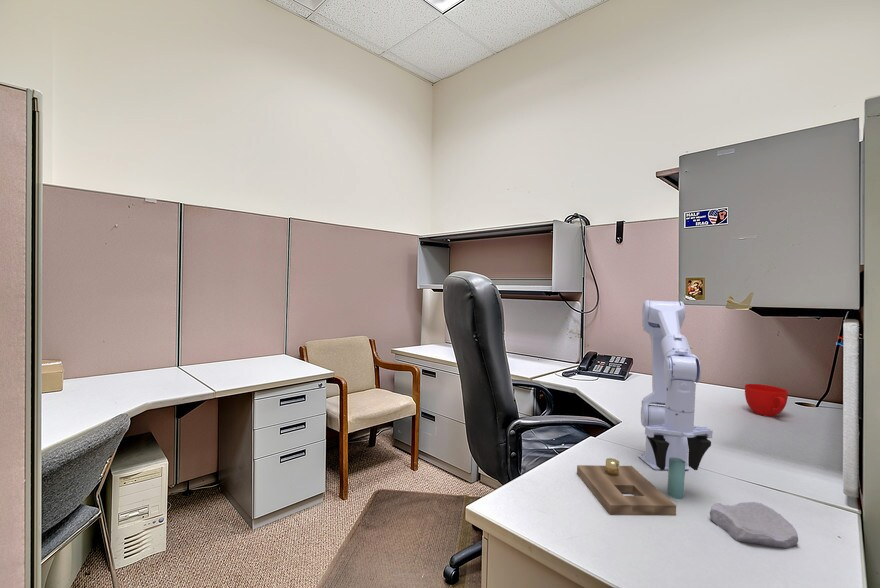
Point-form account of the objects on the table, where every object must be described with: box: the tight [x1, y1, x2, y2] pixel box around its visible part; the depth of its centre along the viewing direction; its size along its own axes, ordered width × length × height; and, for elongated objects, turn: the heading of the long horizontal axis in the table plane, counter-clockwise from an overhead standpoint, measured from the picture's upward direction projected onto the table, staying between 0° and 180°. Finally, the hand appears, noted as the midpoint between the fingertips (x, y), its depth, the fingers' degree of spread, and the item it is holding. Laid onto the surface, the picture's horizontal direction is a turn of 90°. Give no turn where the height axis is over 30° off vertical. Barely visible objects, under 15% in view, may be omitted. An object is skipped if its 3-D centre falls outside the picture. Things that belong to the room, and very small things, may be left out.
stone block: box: [709, 501, 799, 549], centre depth 79 cm, size 12×5×10 cm
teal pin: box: [666, 457, 686, 500], centre depth 92 cm, size 3×3×8 cm
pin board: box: [576, 457, 677, 516], centre depth 93 cm, size 14×18×5 cm
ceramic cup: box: [744, 383, 789, 418], centre depth 153 cm, size 13×17×10 cm
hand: (676, 468), depth 92 cm, fingers open, 7 cm apart
